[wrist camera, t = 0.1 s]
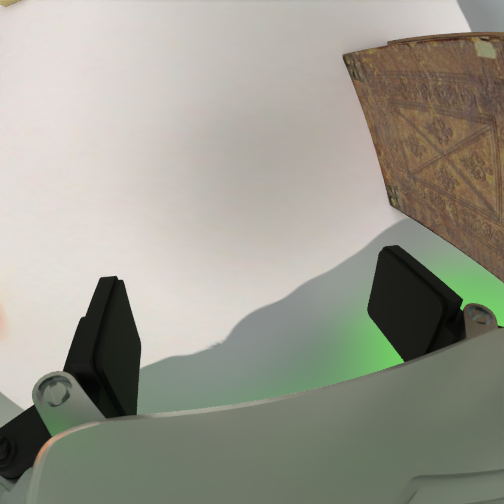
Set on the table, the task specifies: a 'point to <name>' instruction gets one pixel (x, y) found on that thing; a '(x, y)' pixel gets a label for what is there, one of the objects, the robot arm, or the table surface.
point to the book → (441, 134)
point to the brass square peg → (7, 2)
